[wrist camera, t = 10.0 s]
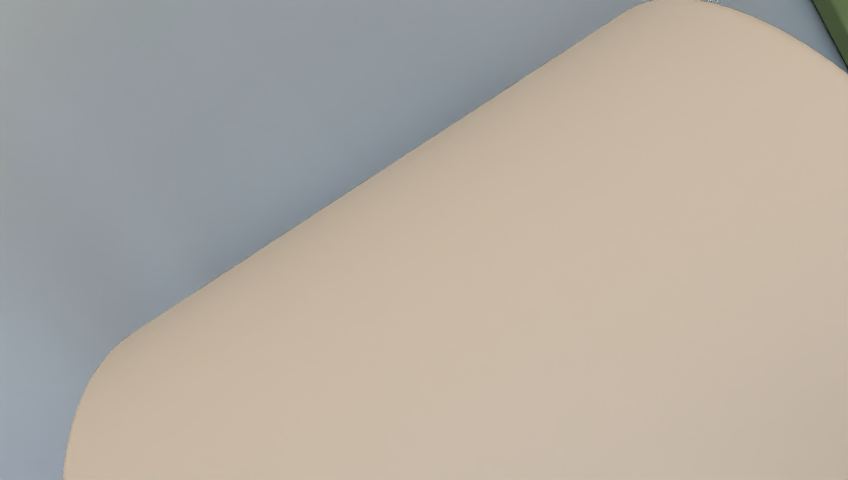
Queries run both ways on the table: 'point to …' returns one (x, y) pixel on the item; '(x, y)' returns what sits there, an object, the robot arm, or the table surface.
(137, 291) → the table surface
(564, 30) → the table surface
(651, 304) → the mug
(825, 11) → the cloth
